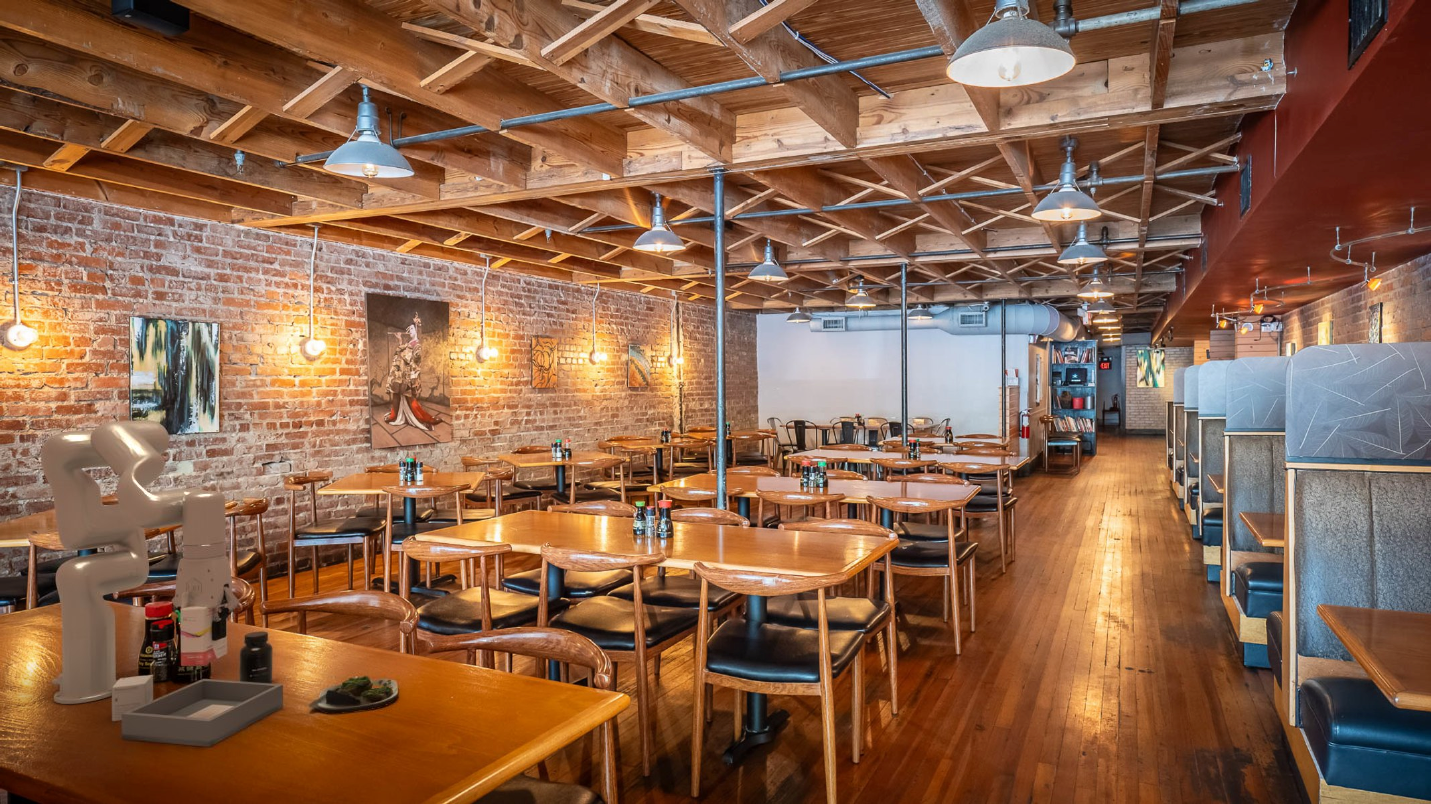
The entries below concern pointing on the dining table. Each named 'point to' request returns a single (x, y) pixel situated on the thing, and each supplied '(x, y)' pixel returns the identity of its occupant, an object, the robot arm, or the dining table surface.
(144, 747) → the dining table surface
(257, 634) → the supplement bottle
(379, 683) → the salad plate
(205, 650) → the ink cartridge box
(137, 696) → the product box
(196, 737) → the walled box
